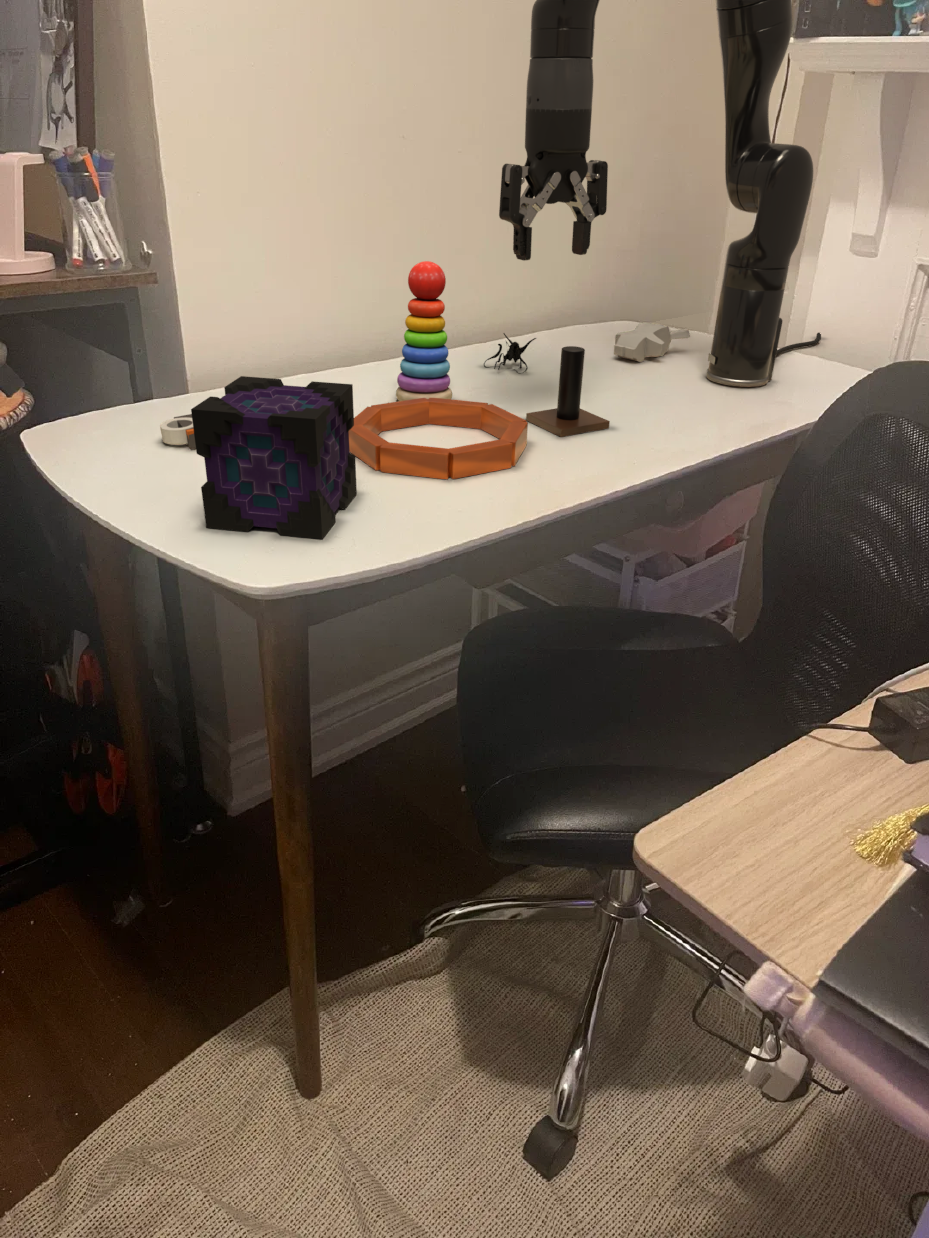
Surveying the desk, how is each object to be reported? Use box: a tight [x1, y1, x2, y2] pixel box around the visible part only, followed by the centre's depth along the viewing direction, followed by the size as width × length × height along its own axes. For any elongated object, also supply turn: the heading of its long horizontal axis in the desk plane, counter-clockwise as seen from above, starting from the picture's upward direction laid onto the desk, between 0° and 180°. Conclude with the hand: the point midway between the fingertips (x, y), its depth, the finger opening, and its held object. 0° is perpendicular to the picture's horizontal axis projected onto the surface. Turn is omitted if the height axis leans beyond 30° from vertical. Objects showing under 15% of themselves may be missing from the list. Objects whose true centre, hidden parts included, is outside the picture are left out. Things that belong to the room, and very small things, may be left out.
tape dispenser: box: [159, 413, 196, 451], centre depth 113 cm, size 7×3×15 cm
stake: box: [525, 345, 610, 438], centre depth 119 cm, size 8×8×10 cm
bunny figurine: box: [613, 321, 691, 363], centre depth 155 cm, size 10×5×15 cm
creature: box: [483, 332, 537, 375], centre depth 145 cm, size 8×5×8 cm
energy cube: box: [190, 375, 358, 540], centre depth 91 cm, size 12×12×12 cm
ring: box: [349, 398, 529, 480], centre depth 111 cm, size 21×21×3 cm
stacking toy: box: [395, 260, 453, 401], centre depth 124 cm, size 8×8×19 cm
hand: (551, 256), depth 111 cm, fingers open, 8 cm apart
